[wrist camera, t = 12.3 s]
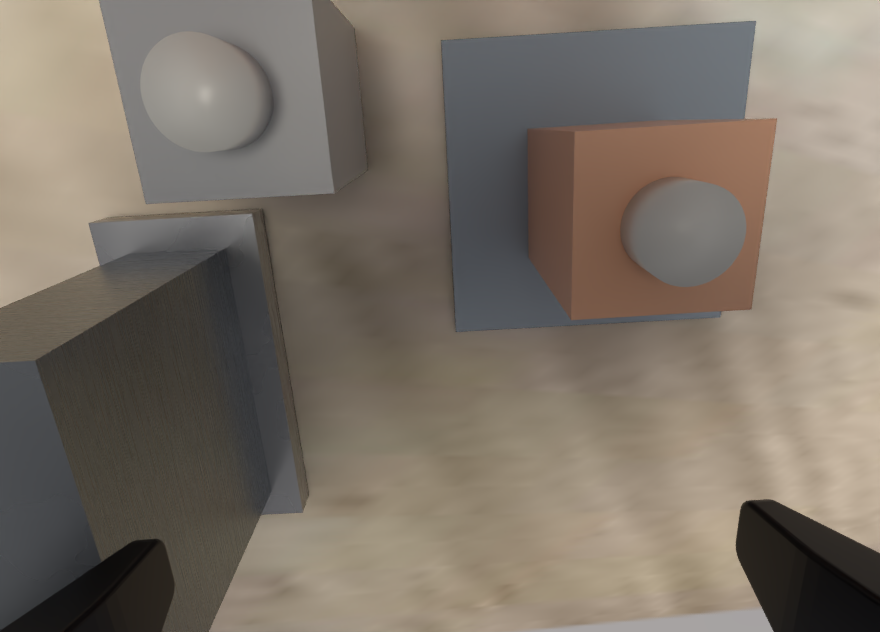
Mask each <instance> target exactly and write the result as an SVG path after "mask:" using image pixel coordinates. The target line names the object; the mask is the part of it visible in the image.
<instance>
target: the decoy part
mask: <svg viewBox="0 0 880 632" xmlns="http://www.w3.org/2000/svg"><path fill="white" fill-rule="evenodd" d="M99 3H100V7H101V11H102V16H103V20H104V24H105V29H106V33H107V37H108V42H109V46H110V50H111V55H112V59H113V63H114V68H115V72H116V76H117V81H118V85H119V89H120V94H121V98H122V102H123V107H124V111H125V115H126V120H127V124H128V128H129V133H130V137H131V141H132V146H133V150H134V154H135V159H136V163H137V167H138V172H139V176H140V180H141V185H142V189H143V193H144V198H145V202H146V204H154V203H172V202H190V201H208V200H226V199H243V198H261V197H279V196H297V195H315V194H333V193H336V192H337V191H338V190H340V189H341V188H343V187H344V186H346V185H347V184H349V183H350V182H352V181H353V180H354V179H356V178H357V177H359V176H360V175H362V174H363V173H365V172H366V171H367V170H368V166H367V155H366V145H365V134H364V124H363V113H362V103H361V92H360V82H359V71H358V61H357V50H356V40H355V29H354V27H353V26H352V25H351V23H350V22H349V21H348V20H347V19H346V18H345V17H344V15H343V14H342V13H341V12H340V11H339V10H338V8H337V7H336V6H335V5H334V4H333V3H332V2H331V0H99Z"/></svg>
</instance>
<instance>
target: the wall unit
mask: <svg viewBox="0 0 880 632" xmlns="http://www.w3.org/2000/svg"><path fill="white" fill-rule="evenodd" d="M89 227H90V231H91V234H92V238H93V242H94V245H95V249H96V253H97V256H98V260H99V264H100V266H99V267H96V268H94V269H91V270H89V271H87V272H84V273H82V274H80V275H77V276H75V277H73V278H70V279H68V280H66V281H63V282H61V283H58V284H56V285H54V286H51V287H49V288H47V289H44V290H42V291H40V292H37V293H35V294H33V295H30V296H28V297H25V298H23V299H21V300H18V301H16V302H14V303H11V304H9V305H7V306H4V307H2V308H0V630H1V629H3V628H4V627H6V626H7V625H9V624H10V623H12V622H13V621H15V620H16V619H18V618H19V617H21V616H22V615H24V614H25V613H27V612H28V611H29V610H31V609H32V608H34V607H35V606H37V605H38V604H40V603H41V602H43V601H44V600H46V599H47V598H49V597H50V596H52V595H53V594H55V593H56V592H58V591H59V590H61V589H62V588H64V587H65V586H66V585H68V584H69V583H71V582H72V581H74V580H75V579H77V578H78V577H80V576H81V575H83V574H84V573H86V572H87V571H89V570H90V569H92V568H93V567H95V566H96V565H98V564H99V563H101V562H102V561H103V560H105V559H106V558H108V557H109V556H111V555H112V554H114V553H115V552H117V551H118V550H120V549H121V548H123V547H124V546H126V545H127V544H129V543H130V542H132V541H135V540H143V539H160V540H162V541H163V542H164V544H165V546H166V549H167V553H168V557H169V561H170V564H171V568H172V572H173V576H174V580H175V591H174V596H173V600H172V603H171V606H170V609H169V612H168V615H167V618H166V621H165V624H164V627H163V630H162V632H209V630H210V628H211V625H212V623H213V621H214V619H215V616H216V614H217V612H218V610H219V608H220V605H221V603H222V601H223V599H224V596H225V594H226V592H227V590H228V587H229V585H230V583H231V581H232V578H233V576H234V574H235V572H236V570H237V567H238V565H239V563H240V561H241V558H242V556H243V554H244V552H245V549H246V547H247V545H248V543H249V541H250V538H251V536H252V534H253V532H254V529H255V527H256V525H257V523H258V520H259V518H260V516H261V515H263V514H282V513H302V512H303V510H304V508H305V505H306V502H307V499H308V496H309V494H308V487H307V481H306V475H305V469H304V463H303V457H302V451H301V445H300V438H299V432H298V426H297V420H296V414H295V408H294V402H293V396H292V390H291V383H290V377H289V371H288V365H287V359H286V353H285V347H284V341H283V334H282V328H281V322H280V316H279V310H278V304H277V298H276V292H275V286H274V279H273V273H272V267H271V261H270V255H269V249H268V243H267V237H266V231H265V224H264V218H263V212H262V209H250V210H233V211H216V212H198V213H181V214H164V215H147V216H130V217H112V218H105V219H101V220H98V221H94V222H91V223H89Z"/></svg>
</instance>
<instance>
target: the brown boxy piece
mask: <svg viewBox="0 0 880 632" xmlns="http://www.w3.org/2000/svg"><path fill="white" fill-rule="evenodd" d="M776 122H777V119H707V120H655V121H639V122H624V123H609V124H593V125H578V126H563V127H547V128H532V129H527V131H528V256H529V259H530V261H531V262H532V264H533V265H534V267H535V268H536V270H537V271H538V272H539V274H540V275H541V277H542V278H543V280H544V281H545V283H546V284H547V286H548V287H549V289H550V290H551V291H552V293H553V294H554V296H555V297H556V299H557V300H558V302H559V303H560V305H561V306H562V308H563V309H564V310H565V312H566V313H567V315H568V316H569V318H570V319H571V320H582V319H599V318H616V317H632V316H649V315H666V314H682V313H699V312H716V311H733V310H749V309H751V308H752V300H753V293H754V285H755V278H756V271H757V263H758V256H759V248H760V241H761V233H762V226H763V219H764V211H765V204H766V196H767V189H768V182H769V174H770V167H771V159H772V152H773V145H774V137H775V130H776Z"/></svg>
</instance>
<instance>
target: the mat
mask: <svg viewBox="0 0 880 632" xmlns="http://www.w3.org/2000/svg"><path fill="white" fill-rule="evenodd" d="M755 25H756V21H746V22H730V23H714V24H697V25H681V26H665V27H649V28H633V29H617V30H601V31H584V32H568V33H552V34H536V35H520V36H504V37H487V38H471V39H455V40H441V44H442V64H443V84H444V104H445V124H446V144H447V164H448V184H449V204H450V223H451V243H452V263H453V283H454V303H455V323H456V332H462V331H480V330H498V329H517V328H535V327H553V326H571V325H589V324H608V323H626V322H644V321H662V320H680V319H699V318H717V317H720V315H721V311H716V312H699V313H682V314H666V315H649V316H632V317H616V318H599V319H582V320H571V319H570V318H569V316H568V315H567V313H566V312H565V310H564V309H563V308H562V306H561V305H560V303H559V302H558V300H557V299H556V297H555V296H554V294H553V293H552V291H551V290H550V289H549V287H548V286H547V284H546V283H545V281H544V280H543V278H542V277H541V275H540V274H539V272H538V271H537V270H536V268H535V267H534V265H533V264H532V262H531V261H530V259H529V256H528V131H527V129H532V128H547V127H563V126H578V125H593V124H609V123H624V122H639V121H655V120H707V119H744V116H745V108H746V100H747V92H748V83H749V75H750V67H751V58H752V50H753V42H754V34H755Z"/></svg>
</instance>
